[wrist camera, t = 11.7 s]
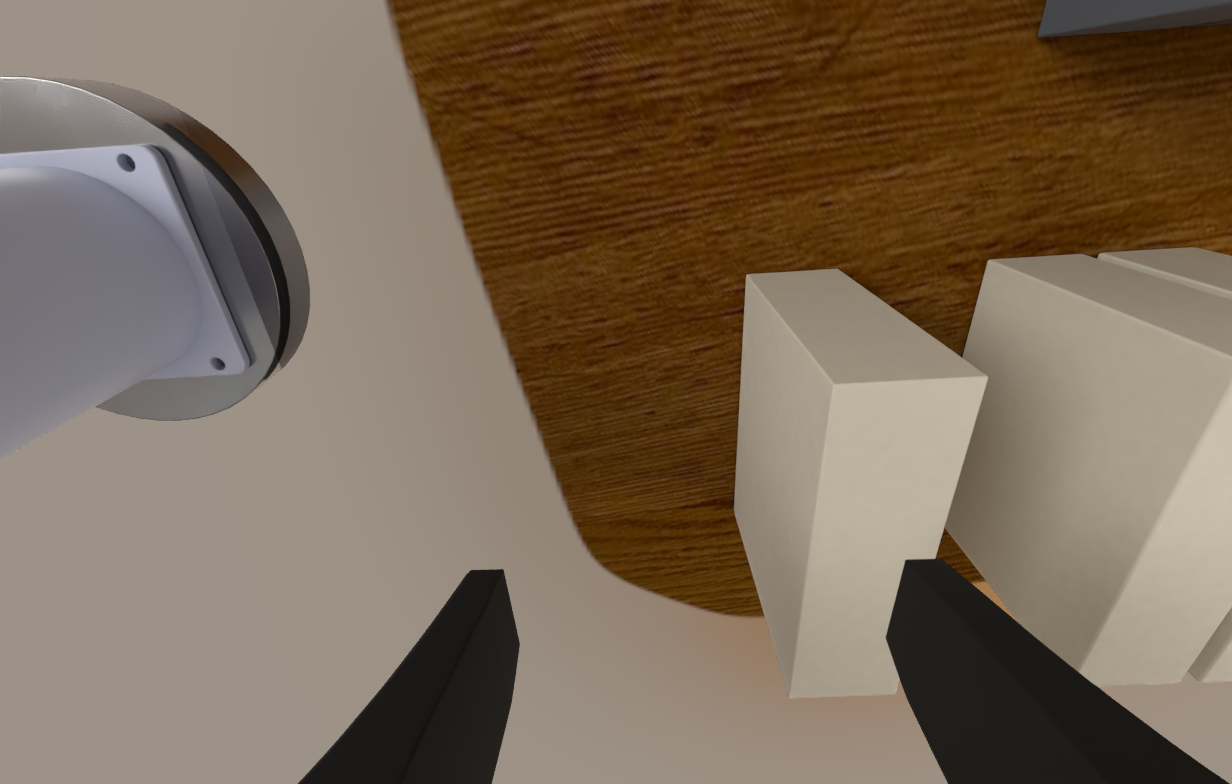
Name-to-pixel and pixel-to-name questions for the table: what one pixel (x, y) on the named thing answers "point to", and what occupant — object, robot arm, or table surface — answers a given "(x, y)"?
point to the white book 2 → (1101, 463)
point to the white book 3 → (1226, 277)
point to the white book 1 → (842, 469)
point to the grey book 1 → (1127, 15)
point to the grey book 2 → (1212, 23)
